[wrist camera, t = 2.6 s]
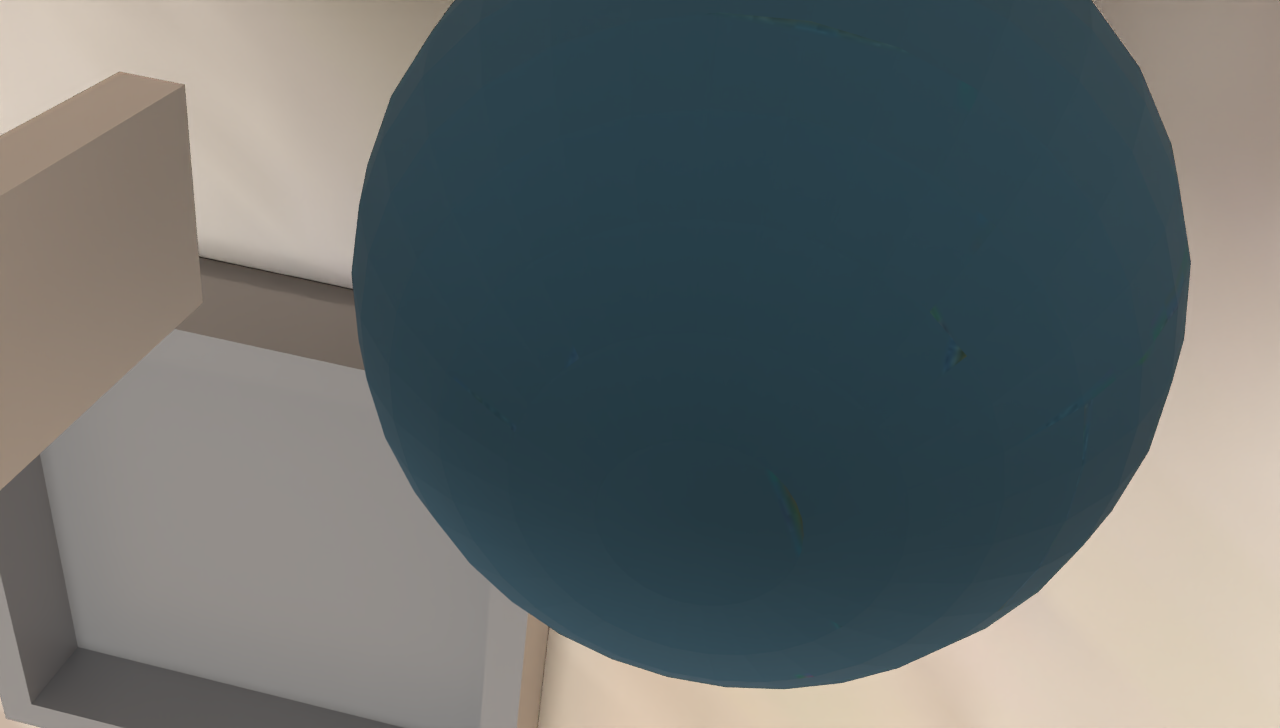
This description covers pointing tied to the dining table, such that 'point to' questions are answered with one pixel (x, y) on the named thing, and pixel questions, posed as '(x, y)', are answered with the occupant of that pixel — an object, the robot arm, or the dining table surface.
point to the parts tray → (247, 546)
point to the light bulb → (770, 315)
